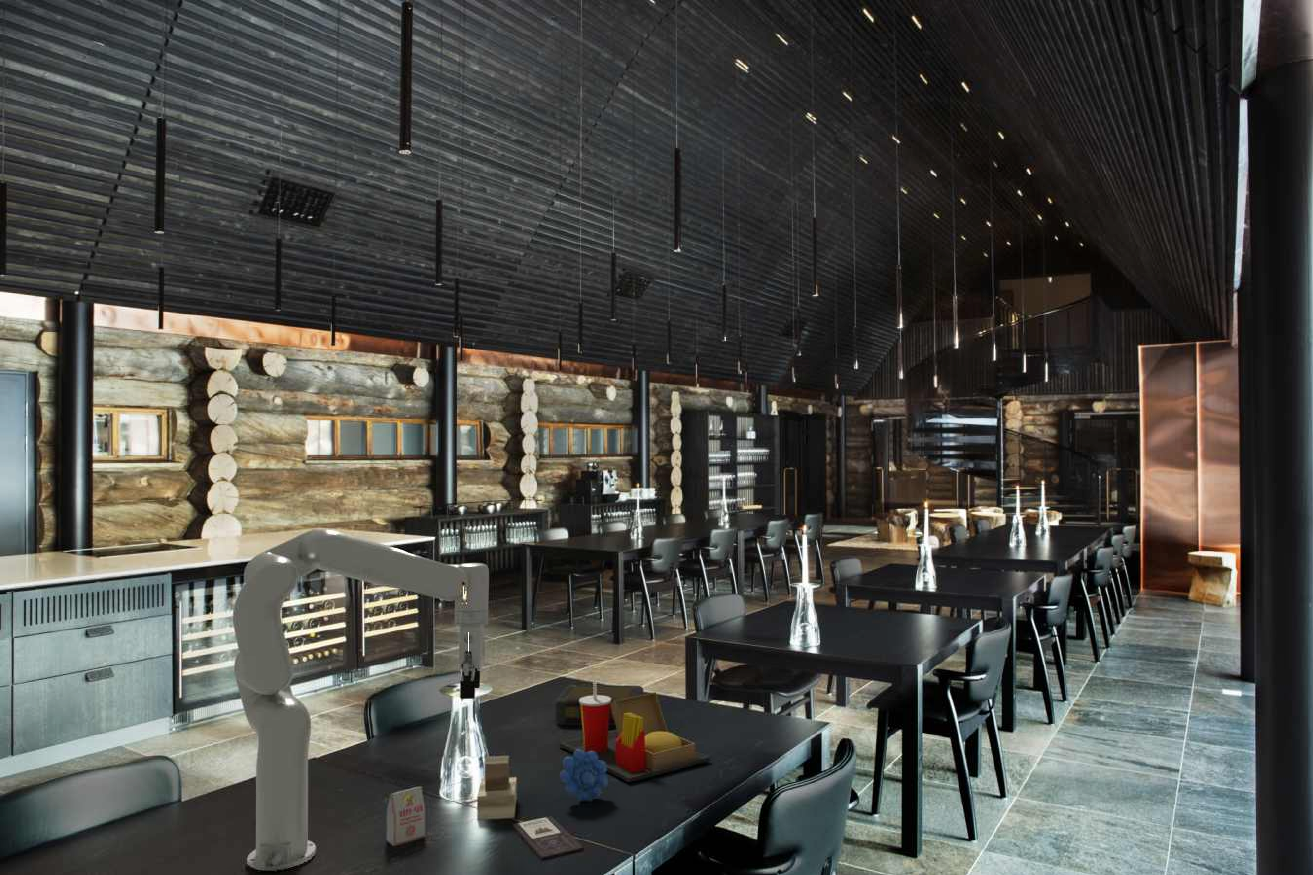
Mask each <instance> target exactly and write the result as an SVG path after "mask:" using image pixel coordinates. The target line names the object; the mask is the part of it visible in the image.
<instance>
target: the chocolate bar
mask: <svg viewBox="0 0 1313 875" xmlns="http://www.w3.org/2000/svg"><path fill="white" fill-rule="evenodd" d="M511 827H512V829H514V831H515V832H516V833H517V834H518V835H519V837H520V838H521V839H522V840H523V841H524V842H525V843H526V844H527V845H528V847H530V849H531V850H532V851H533V852H534V854H536V856H537V857H538V858H539V859H540V861H543V860H547V859H551V858H556V857H560V856H563V855H568V854H573V853H576V852H581V851H584V850H585V848H584V846H583V845H582V844H581V843H580V842H579V841H578V840H577V839H575V837H574V836H573V835H571V833H569V831H568V830H566V828H564V827H563V825H561V823H560V822H558V820H556V819H555V818H554V816H552V815H550V816H545V817H542V818H536V819H532V820H527V821H522V822H517V823H512V824H511Z"/></svg>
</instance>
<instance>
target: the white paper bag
mask: <svg viewBox="0 0 1313 875" xmlns="http://www.w3.org/2000/svg"><path fill="white" fill-rule="evenodd" d="M425 806H426V805H425V800H424V795H423V787H422V786H416V787H412V788H408V789H404V790H400V791H396V792H393V793H390V794H389V801H388V805H387V809H386V841H387V842H388V843H389V844H391V846H393V847H396V846H399V845H402V844H406V843H409V842H413V841H416V840H419V839H423V838H425V837H426V807H425Z"/></svg>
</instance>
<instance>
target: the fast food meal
mask: <svg viewBox="0 0 1313 875" xmlns="http://www.w3.org/2000/svg"><path fill="white" fill-rule="evenodd" d="M597 684H598V683H597V682H592V685H593V695H592V696H586V697H582V698H580V699H579V703H580V706H581V718H582V726H581V727H582V736H581V737H577V738H571V739H568V740H567V739H566V740H564V741H563V740H562V741H559V743H558V746H559V747H561V748H563V749H565V750H567V751H568V752H571V753H572V754H574V752H575V751H576V750H577V749H580V750H583V751H584V752H585V754H587V752H589V751H595V752H596V753H597V755H598V761H599V760H600V761H604V762H605V763H606V766H607V770H606V772H608V773H610V774H611V775H614V776H616V777H617V778H620V779H621V780H624V781H625V782H628V783H632V782H635V781H639V780H640V781H641V780H643V779H647V778H650V777H654V776H657V775H662V774H666V773H670V772H673V771H676V770H682V769H685V768H688V767H691V766H695V765H699V764H703V763H708V762H711V757H710V756H709V755H706V754H704V753H702V752H699V751H697V750H696V742H692V741H690V740H688V739H685V738H684V737H683V738H682V737H680V736H678V735H676V734H674V733H672V732H669V731H668V727H667V725H666V721H665V718H664V714H663V712H662V708H661V705H660V702H659V698H658V694H657V692H650V693H643V695H639V696H634V697H629V698H623V699H618V700H614V701H613V702H612V703H610V702H611V698H610V697H607V696H601V695H597ZM610 707H611V710H612V714H613V717H614V721H615V725H616V726H615V727H616V729H614V730H609V726H608V725H609V710H610Z"/></svg>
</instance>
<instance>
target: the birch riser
mask: <svg viewBox="0 0 1313 875" xmlns="http://www.w3.org/2000/svg"><path fill="white" fill-rule="evenodd" d="M480 780H481V781H480V785H479V788H478V791H477V798H476V799H477V801H476V802H477V804H476V806H477V808H476V810H477V811H476V812H477V816H476V817H477V820H478V821H481V820H482V821H483V820H484V821H485V820H497V819H498V820H499V819H514V818H515V814H516V806H517V800H518V799H517V798H518V797H517V795H518V794H517V792H518V791H517V788H518V786H517V784H518V783H517V782H518V781H517V776H513V777H510V776H509V786H508V790H501V791H485V778H481V779H480Z"/></svg>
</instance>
